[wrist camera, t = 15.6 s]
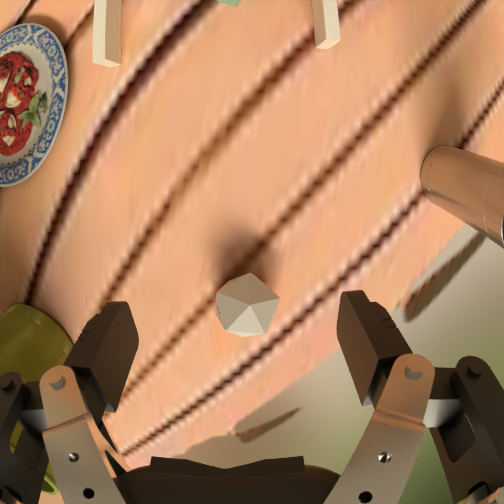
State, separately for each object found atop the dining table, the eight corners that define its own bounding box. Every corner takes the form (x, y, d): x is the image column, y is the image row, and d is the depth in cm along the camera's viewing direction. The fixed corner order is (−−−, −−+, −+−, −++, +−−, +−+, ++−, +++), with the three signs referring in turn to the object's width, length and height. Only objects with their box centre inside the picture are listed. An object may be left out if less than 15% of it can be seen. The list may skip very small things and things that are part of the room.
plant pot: (94, 403, 57) (62, 504, 31) (-4, 347, 50) (-55, 428, 24) (113, 322, 46) (50, 471, 20) (-13, 250, 39) (-107, 341, 13)
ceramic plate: (-45, 140, 29) (-55, 143, 27) (12, 8, 21) (2, 6, 19) (31, 213, 37) (21, 219, 34) (109, 61, 29) (99, 57, 26)
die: (243, 250, 41) (198, 294, 35) (297, 280, 39) (259, 333, 33) (237, 285, 47) (199, 327, 41) (284, 313, 45) (249, 361, 39)
